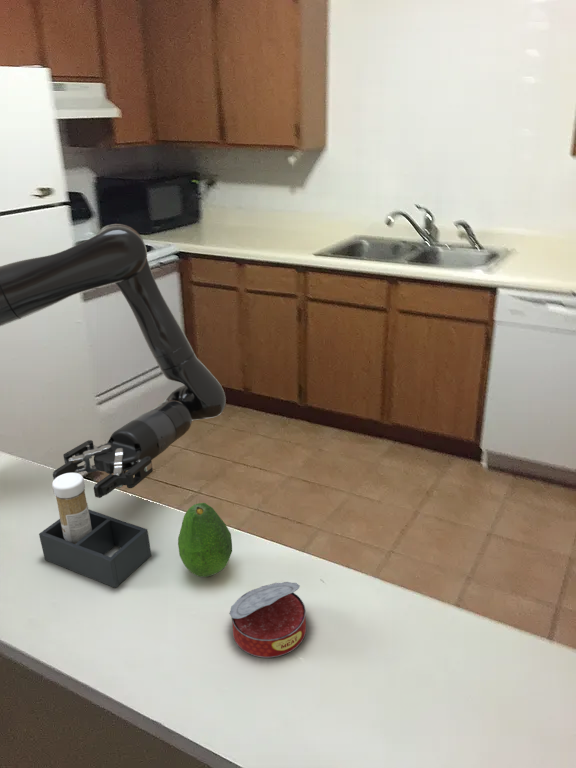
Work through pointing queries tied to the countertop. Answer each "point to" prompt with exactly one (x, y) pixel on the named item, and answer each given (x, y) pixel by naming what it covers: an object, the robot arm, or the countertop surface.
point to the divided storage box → (99, 549)
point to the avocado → (204, 541)
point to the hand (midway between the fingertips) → (75, 485)
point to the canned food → (269, 620)
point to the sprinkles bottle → (72, 506)
